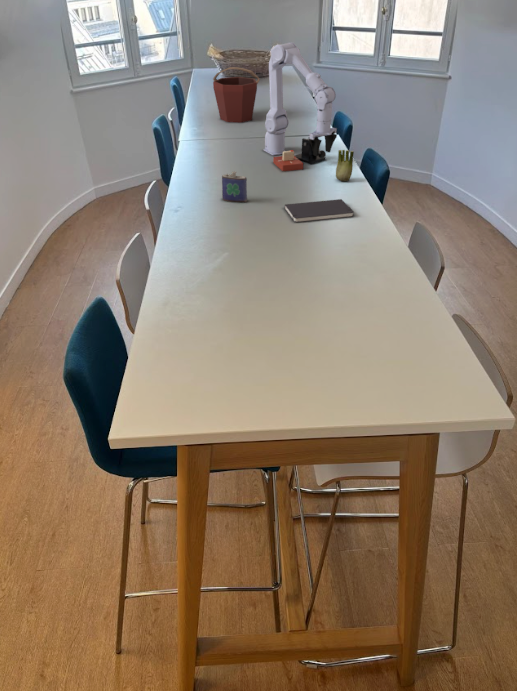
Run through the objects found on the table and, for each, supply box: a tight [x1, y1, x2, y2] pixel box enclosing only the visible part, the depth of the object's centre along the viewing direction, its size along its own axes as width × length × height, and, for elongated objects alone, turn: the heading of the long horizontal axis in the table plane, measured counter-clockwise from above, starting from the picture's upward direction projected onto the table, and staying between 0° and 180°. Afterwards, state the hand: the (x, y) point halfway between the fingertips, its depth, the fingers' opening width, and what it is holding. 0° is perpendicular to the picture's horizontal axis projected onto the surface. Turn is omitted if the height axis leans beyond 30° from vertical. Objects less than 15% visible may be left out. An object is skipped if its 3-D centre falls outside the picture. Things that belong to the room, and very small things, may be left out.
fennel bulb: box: [335, 149, 355, 182], centre depth 223 cm, size 6×5×12 cm
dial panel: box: [272, 155, 304, 172], centre depth 240 cm, size 12×9×3 cm
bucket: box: [212, 66, 261, 124], centre depth 298 cm, size 24×22×25 cm
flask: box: [221, 170, 248, 203], centre depth 206 cm, size 9×3×11 cm, turn 74°
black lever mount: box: [294, 138, 326, 165], centre depth 246 cm, size 11×9×9 cm
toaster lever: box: [307, 138, 327, 158], centre depth 243 cm, size 11×3×3 cm, turn 42°
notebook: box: [284, 198, 354, 223], centre depth 199 cm, size 13×2×21 cm
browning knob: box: [282, 149, 295, 161], centre depth 239 cm, size 5×2×4 cm, turn 107°
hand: (321, 153), depth 242 cm, fingers open, 7 cm apart
